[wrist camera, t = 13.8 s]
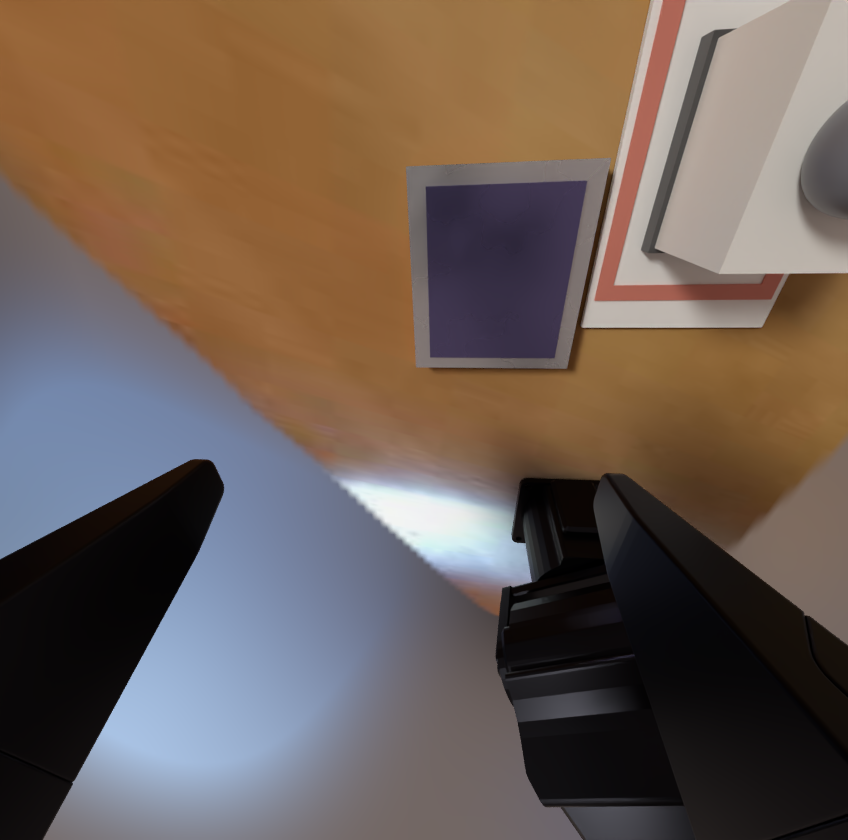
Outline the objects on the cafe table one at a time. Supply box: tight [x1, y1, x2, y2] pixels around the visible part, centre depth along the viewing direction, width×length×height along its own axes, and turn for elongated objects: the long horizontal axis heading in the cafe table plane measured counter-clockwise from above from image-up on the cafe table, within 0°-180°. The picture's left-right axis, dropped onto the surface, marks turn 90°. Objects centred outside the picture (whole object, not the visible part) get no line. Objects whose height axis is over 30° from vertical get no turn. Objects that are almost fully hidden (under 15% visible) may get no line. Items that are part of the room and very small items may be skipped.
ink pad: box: [406, 158, 611, 369], centre depth 17 cm, size 9×8×2 cm
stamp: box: [641, 0, 848, 274], centre depth 11 cm, size 5×7×8 cm
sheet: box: [580, 0, 790, 328], centre depth 14 cm, size 14×9×1 cm, turn 2°
